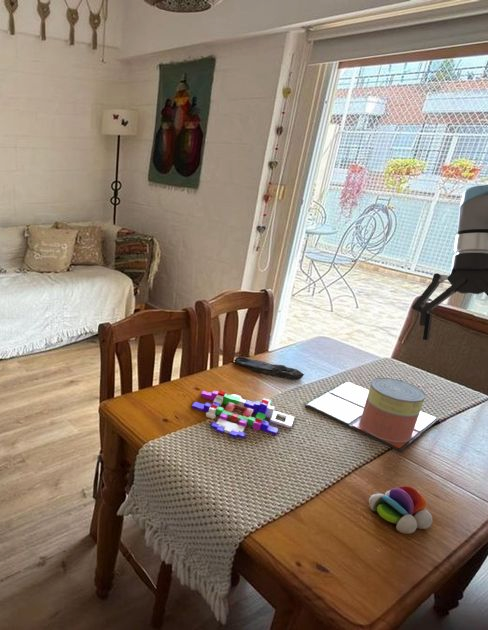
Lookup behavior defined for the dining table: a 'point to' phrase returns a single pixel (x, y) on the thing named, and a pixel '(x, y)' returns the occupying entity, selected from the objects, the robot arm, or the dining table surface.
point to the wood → (268, 368)
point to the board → (349, 407)
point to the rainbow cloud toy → (402, 509)
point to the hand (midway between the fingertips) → (462, 344)
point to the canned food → (392, 409)
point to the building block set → (245, 419)
